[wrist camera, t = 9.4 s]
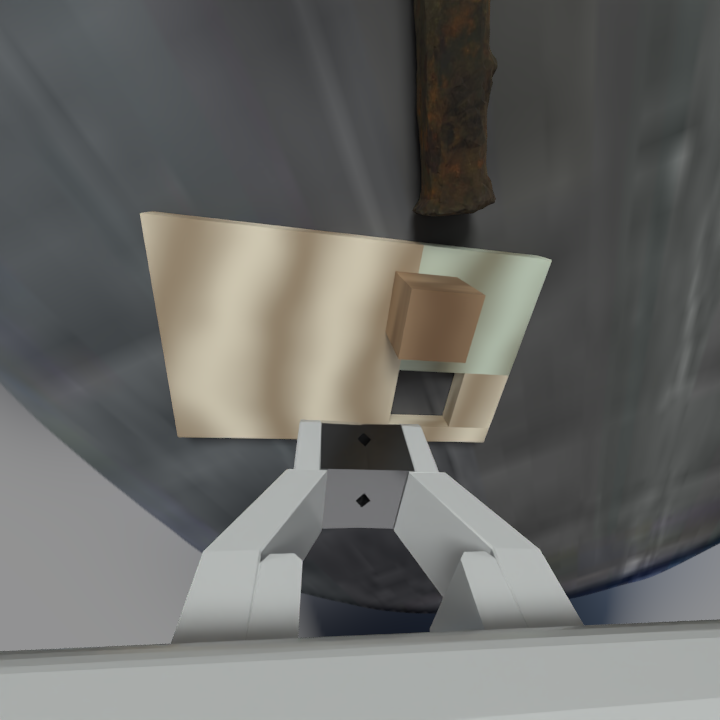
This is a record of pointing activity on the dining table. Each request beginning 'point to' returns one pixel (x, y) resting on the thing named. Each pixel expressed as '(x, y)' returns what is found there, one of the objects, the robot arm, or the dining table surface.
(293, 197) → the dining table surface
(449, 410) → the birch board
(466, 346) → the walnut cube
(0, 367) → the dining table surface
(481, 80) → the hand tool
